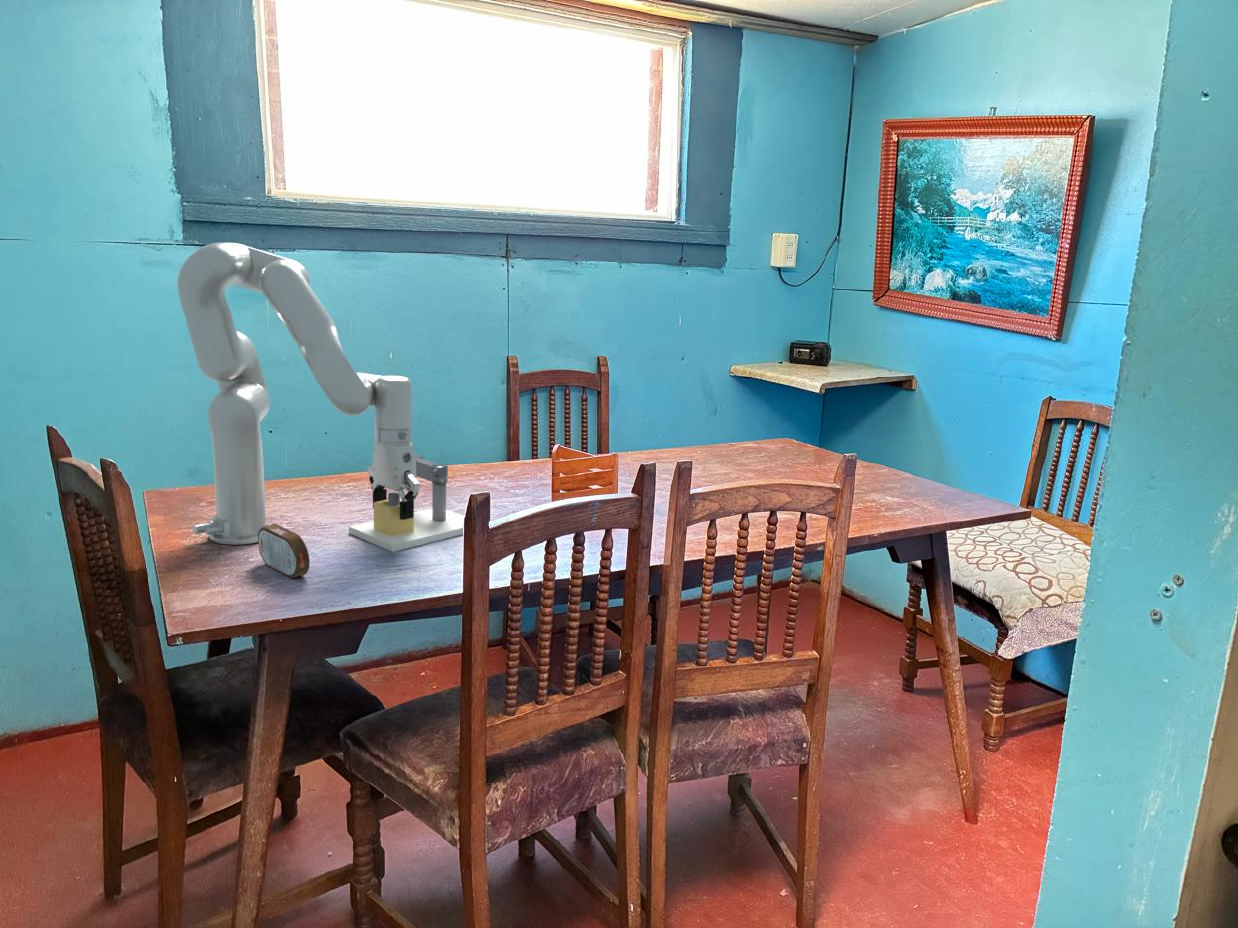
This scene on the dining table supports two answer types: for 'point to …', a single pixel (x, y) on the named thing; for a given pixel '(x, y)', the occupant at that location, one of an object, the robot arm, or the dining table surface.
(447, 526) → the pin board
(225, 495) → the robot arm
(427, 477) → the bar
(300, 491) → the dining table surface
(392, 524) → the collar
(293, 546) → the tin
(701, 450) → the dining table surface
